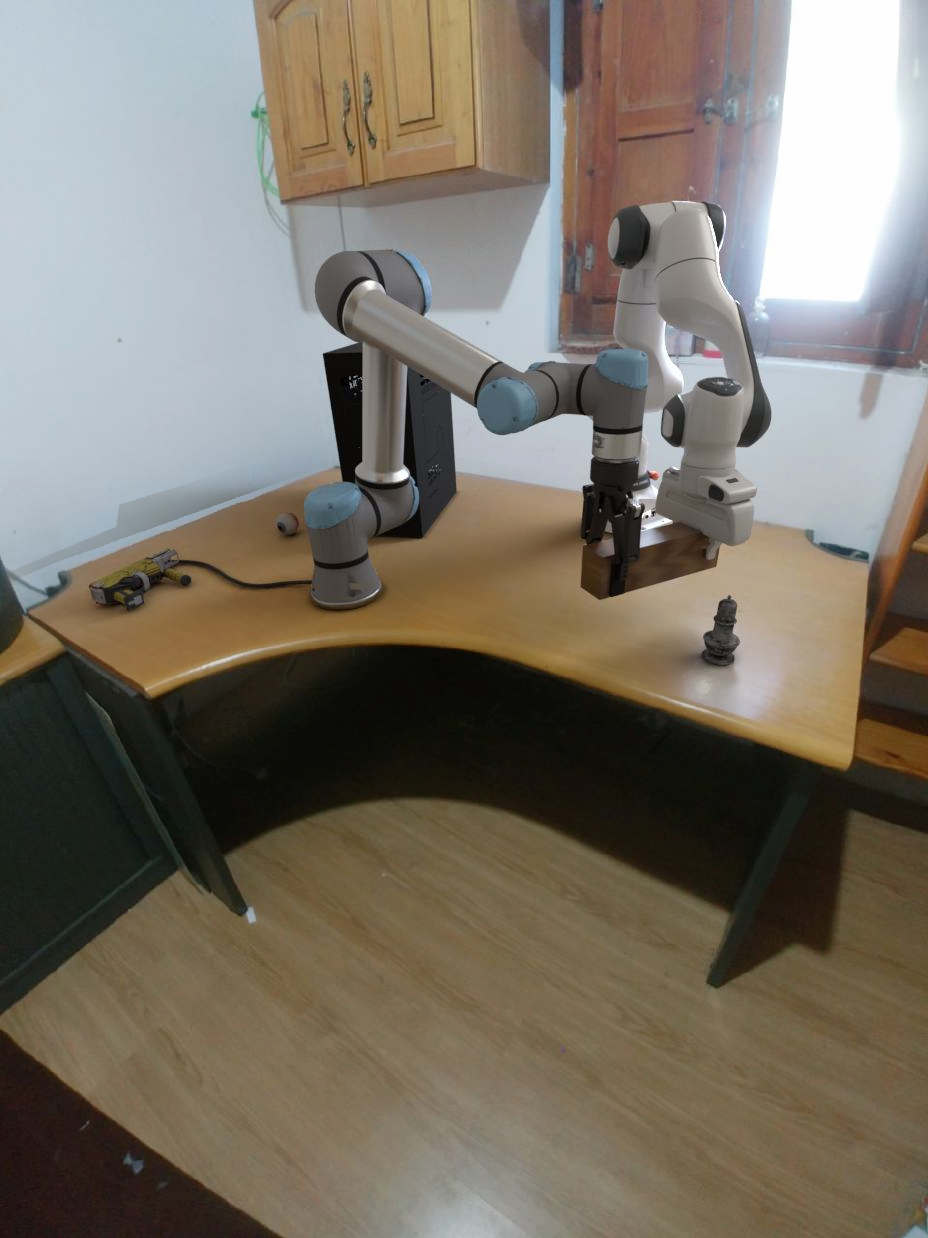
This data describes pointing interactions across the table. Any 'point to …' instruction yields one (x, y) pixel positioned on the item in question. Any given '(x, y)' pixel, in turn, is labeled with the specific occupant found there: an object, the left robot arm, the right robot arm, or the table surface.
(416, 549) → the table surface
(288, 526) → the eyeball
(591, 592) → the bar
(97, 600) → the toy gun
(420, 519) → the black computer tower
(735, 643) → the dark grey tiered figure
